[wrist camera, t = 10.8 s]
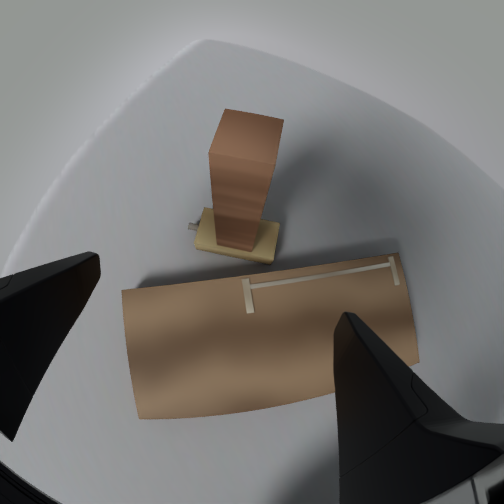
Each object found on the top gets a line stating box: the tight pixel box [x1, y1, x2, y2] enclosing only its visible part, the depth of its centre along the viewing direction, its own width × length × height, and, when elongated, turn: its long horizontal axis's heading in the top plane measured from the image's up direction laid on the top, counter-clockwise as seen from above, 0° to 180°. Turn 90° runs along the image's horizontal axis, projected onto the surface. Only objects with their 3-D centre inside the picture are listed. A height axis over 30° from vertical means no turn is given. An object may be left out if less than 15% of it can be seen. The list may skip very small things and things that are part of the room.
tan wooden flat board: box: [122, 253, 419, 419], centre depth 19 cm, size 10×22×2 cm, turn 99°
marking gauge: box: [188, 109, 284, 265], centre depth 17 cm, size 3×7×12 cm, turn 79°
